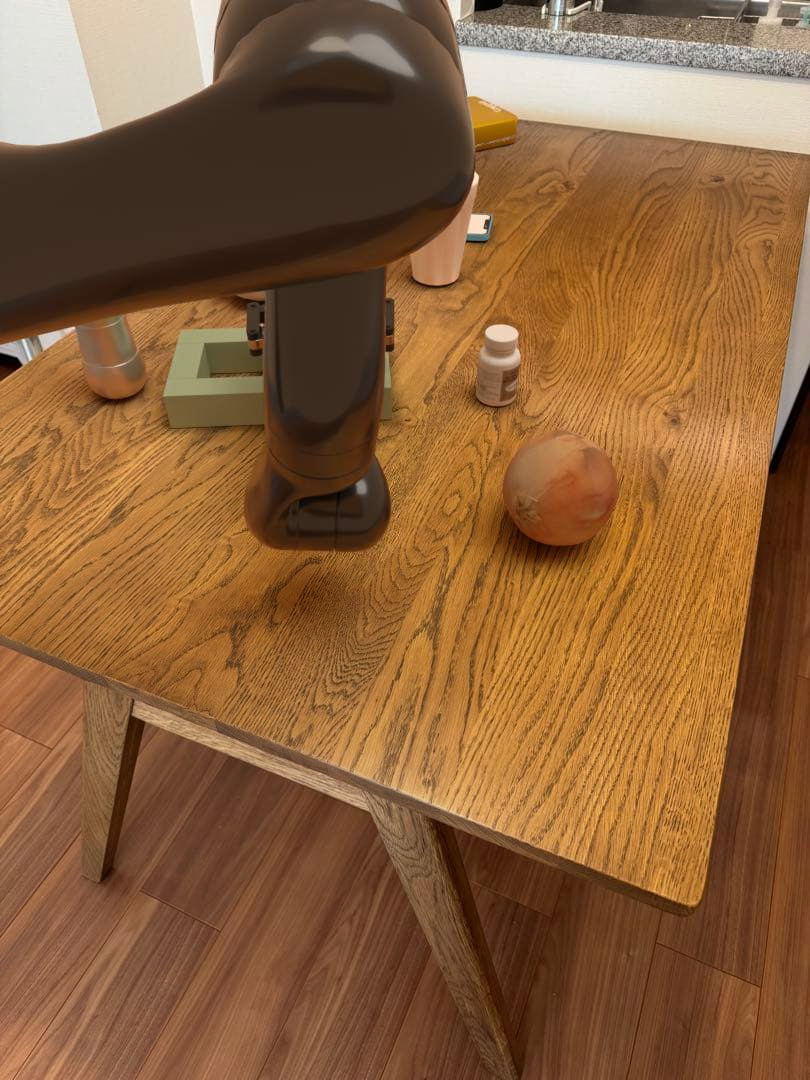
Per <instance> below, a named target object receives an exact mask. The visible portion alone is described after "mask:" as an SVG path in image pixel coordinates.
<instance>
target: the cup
mask: <svg viewBox="0 0 810 1080" xmlns="http://www.w3.org/2000/svg"><path fill="white" fill-rule="evenodd" d="M479 180H480V176H479V174H478V173H477V172H476V171H475V173H474V179H473V183H472V187H471V190H470V192H469V195H468V197H467V199H466V201H465V203H464V205H463V207H462V209H461V211H460V212H459V213H458V215H457V216H456V217H455V219H454V220H453V221H452V223H451V224H450V225H449V226H448V227H447V228H446V229H445V230H444V231H443V232H442V233H441V234H440V235H439V236H438V237H436V238H435V239H434V240H432V241H431V242H430V243H428V244H427V245H425V246H424V247H422V248H421V249H419V250H418V251H416V252H414V253H412V254H410V255H409V256H410V261H411V262H410V263H411V270H412V271H411V272H412V274H411V276H412V277H413V279H414V280H415V281H417V282H419V283H421V284H424V285H428V286H443V285H444V286H445V285H449V284H451V283H454V282H456V281H457V280H458V279H459V277H460V272H461V266H462V262H463V257H464V251H465V247H466V241H467V240H466V237H467V232H468V228H469V223H470V218H471V213H473V207H474V202H475V199H476V197H477V193H478V187H479Z"/></svg>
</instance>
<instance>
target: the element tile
mask: <svg viewBox="0 0 810 1080" xmlns="http://www.w3.org/2000/svg"><path fill="white" fill-rule="evenodd" d="M467 97H468V101H469V106H470V112H471V118H472V124H473V131H474V138H475V145H477V144H481V143H485V142H489V141H493V140H497V139H501V138H504V137H508V136H512V135H515V134H516V135H517V130H518V120H519V117H518V115H516V114H514V113H513V112H511V111H508V110H506V109H504V108H502V107H500V106H498V105H496V104H493V103H492V102H490V101H487V100H486V99H483V98H481V97H478V96H476V95H470V96H467ZM516 139H517V136H516V137H515V138H513V139H509V140H505V141H500V142H495V143H491V144H486V145H481V146H477V147H475V153H478V152H481V151H486V150H490V149H495V148H500V147H504V146H509V145H512V144H514V143H515V142H516Z"/></svg>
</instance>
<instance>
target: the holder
mask: <svg viewBox="0 0 810 1080" xmlns="http://www.w3.org/2000/svg"><path fill="white" fill-rule="evenodd" d="M176 341H177V342H176V346H175V348H174V353H173V356H172V360H171V364H170V367H169V372H168V375H167V378H166V382H165V386H164V390H163V393H162V400H163V403H164V407H165V411H166V415H167V419H168V423H169V426H170V428H171V429H187V428H210V427H211V428H212V427H213V428H214V427H235V426H236V427H237V426H260V425H263V426H264V409H263V375H258V376H256V375H255V376H229V377H211V375H212V374H239V373H241V374H242V373H260V372H261V373H263V354H262V355H260V356H257V357H254V356H251V355H250V351H249V345H248V339H247V333H246V327H223V328H222V327H219V328H193V329H192V328H191V329H190V328H189V329H180V331H179V335H178V338H177V340H176ZM389 357H390V356H389V352H386V356H385V383H384V397H383V406H382V413H381V419H380V421H382V420H383V421H386V420H387V421H388V420H393V399H392V398H393V397H392V395H393V394H392V390H393V389H392V377H391V368H390V367H391V366H390V358H389Z"/></svg>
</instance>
